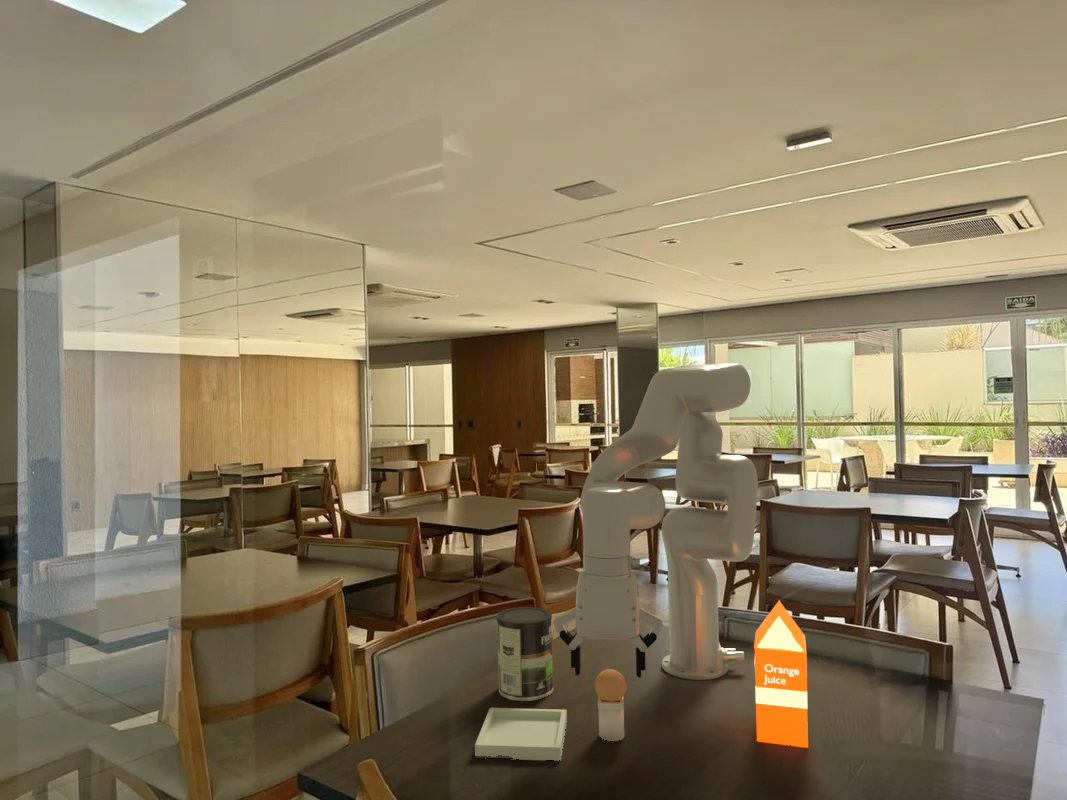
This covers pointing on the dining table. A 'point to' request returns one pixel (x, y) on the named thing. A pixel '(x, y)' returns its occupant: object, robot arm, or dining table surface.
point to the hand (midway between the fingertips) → (608, 673)
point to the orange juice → (781, 680)
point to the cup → (611, 719)
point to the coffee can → (525, 653)
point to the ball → (610, 685)
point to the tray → (523, 734)
